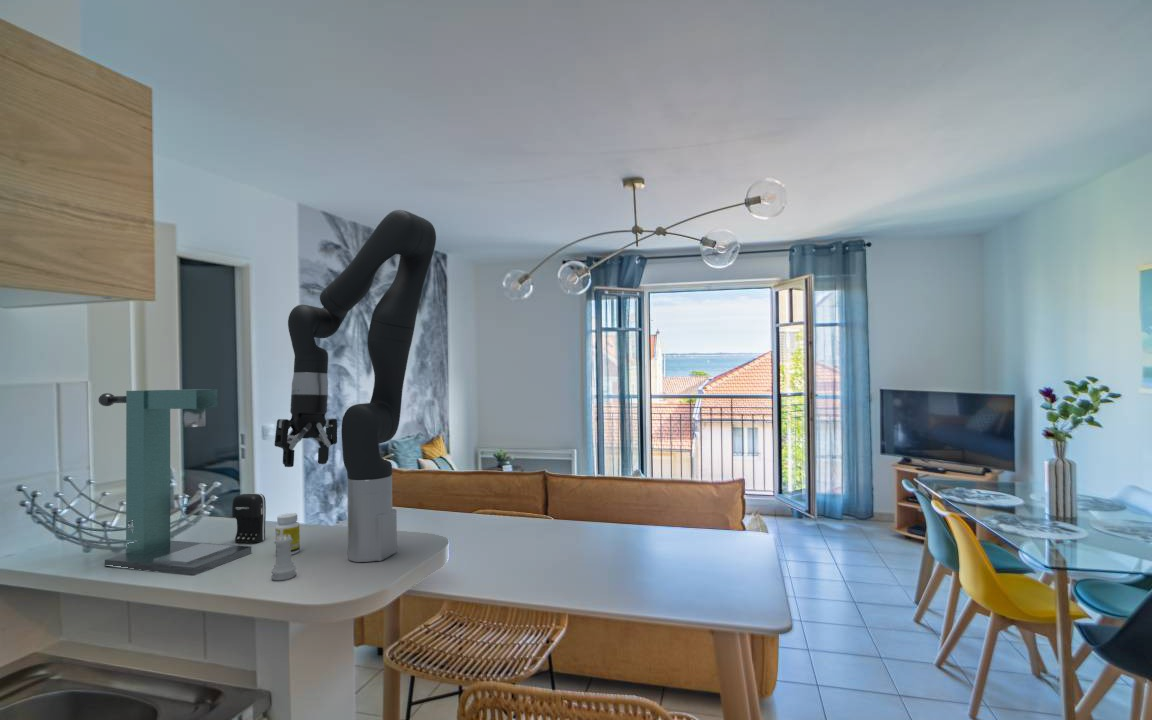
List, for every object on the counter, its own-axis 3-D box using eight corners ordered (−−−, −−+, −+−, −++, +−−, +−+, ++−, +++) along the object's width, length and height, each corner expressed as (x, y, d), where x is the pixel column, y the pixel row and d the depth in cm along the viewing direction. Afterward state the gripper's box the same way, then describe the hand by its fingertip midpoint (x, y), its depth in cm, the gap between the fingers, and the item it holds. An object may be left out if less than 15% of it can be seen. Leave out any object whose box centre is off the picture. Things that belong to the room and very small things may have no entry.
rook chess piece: (290, 571, 113) (290, 531, 113) (300, 576, 110) (300, 535, 110) (267, 578, 109) (266, 537, 110) (276, 583, 107) (276, 540, 107)
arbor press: (251, 553, 125) (250, 388, 126) (193, 575, 112) (193, 390, 113) (133, 543, 134) (133, 390, 135) (66, 563, 121) (67, 392, 122)
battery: (229, 543, 133) (229, 495, 133) (241, 539, 137) (241, 492, 137) (254, 545, 132) (254, 496, 132) (266, 540, 135) (266, 492, 136)
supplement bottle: (304, 549, 127) (303, 512, 127) (291, 556, 123) (291, 517, 123) (284, 549, 128) (284, 512, 128) (270, 556, 123) (270, 517, 123)
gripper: (292, 392, 119) (288, 469, 118) (346, 394, 132) (343, 463, 131) (269, 392, 123) (265, 467, 121) (325, 394, 135) (321, 461, 134)
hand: (306, 465), depth 126 cm, fingers open, 8 cm apart
